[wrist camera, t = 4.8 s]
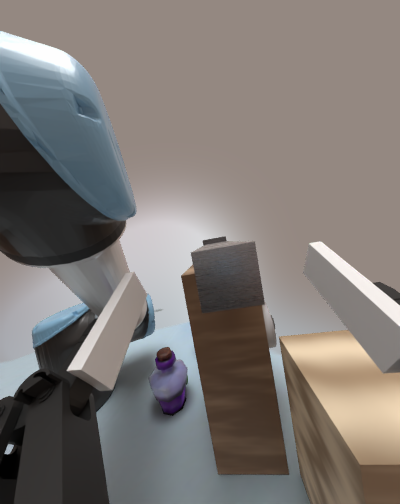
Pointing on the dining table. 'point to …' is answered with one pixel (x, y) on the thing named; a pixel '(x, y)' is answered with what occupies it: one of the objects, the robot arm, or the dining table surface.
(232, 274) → the grey long bar
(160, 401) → the potion bottle
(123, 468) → the dining table surface
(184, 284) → the post
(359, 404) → the oak block
